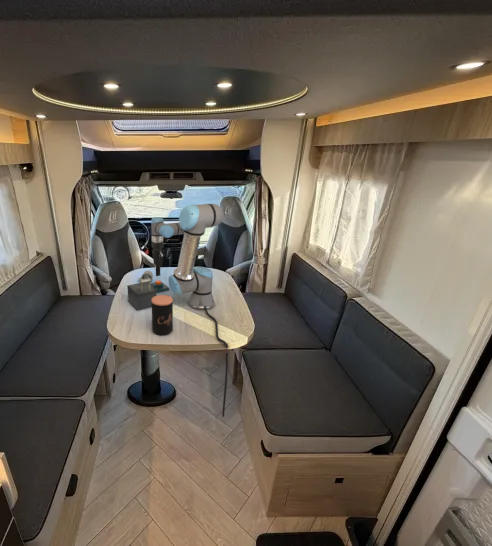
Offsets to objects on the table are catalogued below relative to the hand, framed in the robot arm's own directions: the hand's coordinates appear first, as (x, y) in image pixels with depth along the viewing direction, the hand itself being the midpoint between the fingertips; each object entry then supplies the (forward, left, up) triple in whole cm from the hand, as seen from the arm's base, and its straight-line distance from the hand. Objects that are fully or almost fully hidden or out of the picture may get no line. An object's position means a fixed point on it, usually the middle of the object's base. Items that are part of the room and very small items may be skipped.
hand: (158, 275), depth 208 cm
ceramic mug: (+16, +2, -10) cm, 19 cm away
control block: (0, 0, -10) cm, 10 cm away
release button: (0, 0, -6) cm, 6 cm away
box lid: (-16, +19, 0) cm, 25 cm away
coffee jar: (-49, +23, -10) cm, 55 cm away
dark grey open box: (-15, +19, -10) cm, 26 cm away
